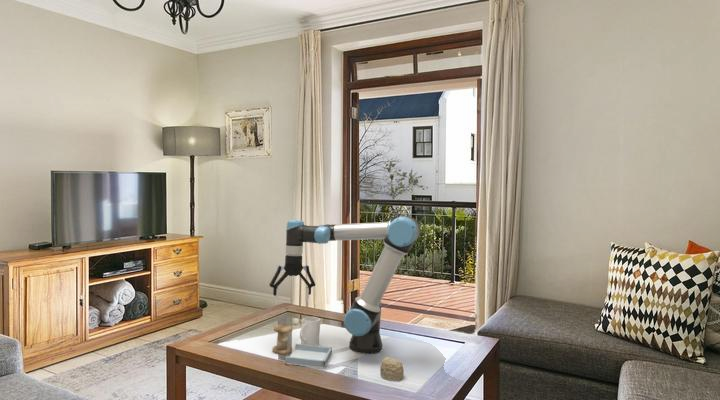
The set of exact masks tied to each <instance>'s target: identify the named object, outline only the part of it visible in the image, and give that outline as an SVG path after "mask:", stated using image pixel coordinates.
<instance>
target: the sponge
mask: <svg viewBox="0 0 720 400" xmlns="http://www.w3.org/2000/svg"><path fill="white" fill-rule="evenodd" d="M404 371H405V370H404V364H403V363H402V361H400V360H399V359H398V358H394V357H389V356H386V357H384V358H383V359H382V361H381V364H380V369H379V372H380V377H381V378H382V379H384V380H385V381H388V382H399V381H402V379H404Z"/></svg>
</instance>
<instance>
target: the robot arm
mask: <svg viewBox="0 0 720 400" xmlns="http://www.w3.org/2000/svg"><path fill="white" fill-rule="evenodd" d="M421 232H422V230H421V225H420V223H419V221H417V219H415V218H414V217H412V216H399V217H396V218H394V219H389V221H381V222H360V223H357V222H356V223H340V224H339V223H337V224H323V225H322V224H320V225H305V221H304V220H298V219H297V220H296V219H290V220H288V221H287V222H286V237H285V238H286V239H285V241H286V243H285V259H284V261H285V262H284V265H280V264H279V265H277V268H276V271H275V273H274V275H273V277H272V278H271V281H270V283H269V287H270V288H273V290H272V293H273V296H275V298H274V301H275V304H276V305H277V304H279V286H280V285H281V283H282V282H283V281H284V280H285V279H286V278H287V277H288V276H289V277H293V276H294V277H297V276H299V277H300V278H301V280H302V281H303V283H304V284H305V285H306V287H305V303H309V298H310V297H309V296H310V295H311V294H312V288H313V287H315V286H316V282H315V280H314V279H313V276H312V274H311V272H310V265H308V264H306V265H303V255H304V254H303V253H304V252H303V251H304V250H303V249H304V243H309V244H319V245H320V244H324V245H325V244H328V243H329V242H333V241H334V242H335V241H359V240H382V241H383V244H384V247H383V248H382V249H383V250H382V251H381V253H380V255H379V257H378V260H377V261H376V263H375V266H374V268H373V270H372V272H371V273H370V276H369V278H368V280H367V282H366V285H365V286H364V288H363V290H362V293H361V294H360V295H359V296H357V297H355V298H354V300H353V302H352V305H351V307H350V309H349V310H348V311H347V312H346V313H345V316H344V318H343V325H344V327H345V330H346V332H348V333H349V334H351V336H350V337H351V338H350V339H349V345H348V348H349V349H350V350H351V351H352V352H355V353H358V354H359V353H360V354H365V355H367V354H368V355H374V354H378V353H381V352H382V351H383V342H382V337H381V333H380V331H381V330H380V327H381V315H382V307H383V305H382V299H383V298H384V295H385V293H386V291H387V290H388V287H389V286H390V283H391V281H392V279H393V277H394V276H395V273H396V270H397V269H398V267H399V266H400V263H401V261H402V259H403V257H404V256H406V255H409V253H410V251H411V249H412V247H413V245H414V243H415V242H416V241H417V240H418V239H419V237H420V235H421ZM283 270H284V273H283V274H282V275H281V277H280V278H279V279H278V277H279V275H280V273H281V272H282V271H283ZM302 271H305V273H306V274H307V275H306V276H307V277H308V279H309V281H310V282H309V281H308V280H307V279H306V277H305V276H304V274H303V273H302ZM277 279H278V280H277ZM381 350H382V351H381ZM380 351H381V352H380Z"/></svg>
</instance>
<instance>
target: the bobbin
mask: <svg viewBox="0 0 720 400" xmlns="http://www.w3.org/2000/svg"><path fill="white" fill-rule="evenodd" d="M293 329H294V327H293V326H292V325H290V324H276V325H274V326H273V331H274V332H276V333H277V336H276V338H277V340H276V345H274V346H272V349H271V350H272V353H273V354H276V355H287V354H290V353H291V352H292V346H289V345H288V342H289V341H288V338H289V333H291V332H292V331H293Z"/></svg>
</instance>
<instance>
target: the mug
mask: <svg viewBox="0 0 720 400" xmlns="http://www.w3.org/2000/svg"><path fill="white" fill-rule="evenodd" d="M320 330H321V318H319V317H317V316H304V317H303V318H302V324H301V328H300V331H299V338H300V344H304V345H313V346H320V332H321V331H320Z"/></svg>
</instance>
